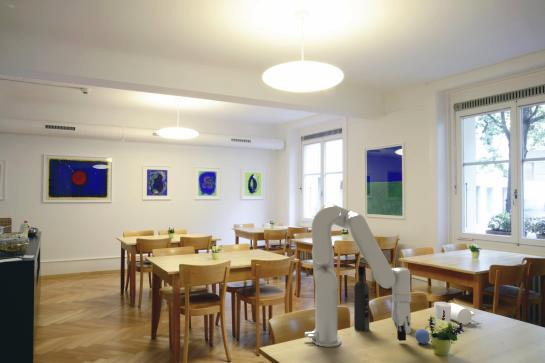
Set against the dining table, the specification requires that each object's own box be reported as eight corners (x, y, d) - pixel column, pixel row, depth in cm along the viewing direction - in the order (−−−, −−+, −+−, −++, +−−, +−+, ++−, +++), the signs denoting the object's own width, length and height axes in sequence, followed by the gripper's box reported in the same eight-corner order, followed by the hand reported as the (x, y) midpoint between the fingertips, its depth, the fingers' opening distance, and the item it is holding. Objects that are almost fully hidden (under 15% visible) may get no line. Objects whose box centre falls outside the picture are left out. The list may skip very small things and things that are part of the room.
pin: (406, 333, 174) (406, 314, 175) (404, 331, 177) (404, 313, 177) (411, 333, 175) (411, 314, 175) (409, 331, 177) (409, 313, 177)
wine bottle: (370, 329, 181) (369, 265, 182) (364, 332, 176) (363, 267, 177) (359, 326, 184) (359, 264, 185) (353, 329, 180) (353, 265, 181)
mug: (458, 325, 186) (457, 309, 186) (444, 319, 196) (444, 303, 196) (479, 323, 188) (478, 307, 189) (465, 317, 198) (464, 301, 198)
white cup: (444, 328, 182) (443, 307, 182) (430, 323, 189) (430, 303, 189) (455, 325, 186) (454, 304, 186) (441, 320, 193) (441, 300, 193)
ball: (435, 337, 160) (427, 349, 161) (429, 331, 166) (421, 342, 167) (423, 330, 160) (415, 342, 160) (418, 323, 166) (410, 335, 166)
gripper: (386, 292, 171) (386, 333, 171) (399, 302, 156) (400, 347, 156) (402, 292, 172) (403, 333, 171) (417, 301, 157) (417, 346, 156)
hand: (401, 339), depth 163 cm, fingers closed
